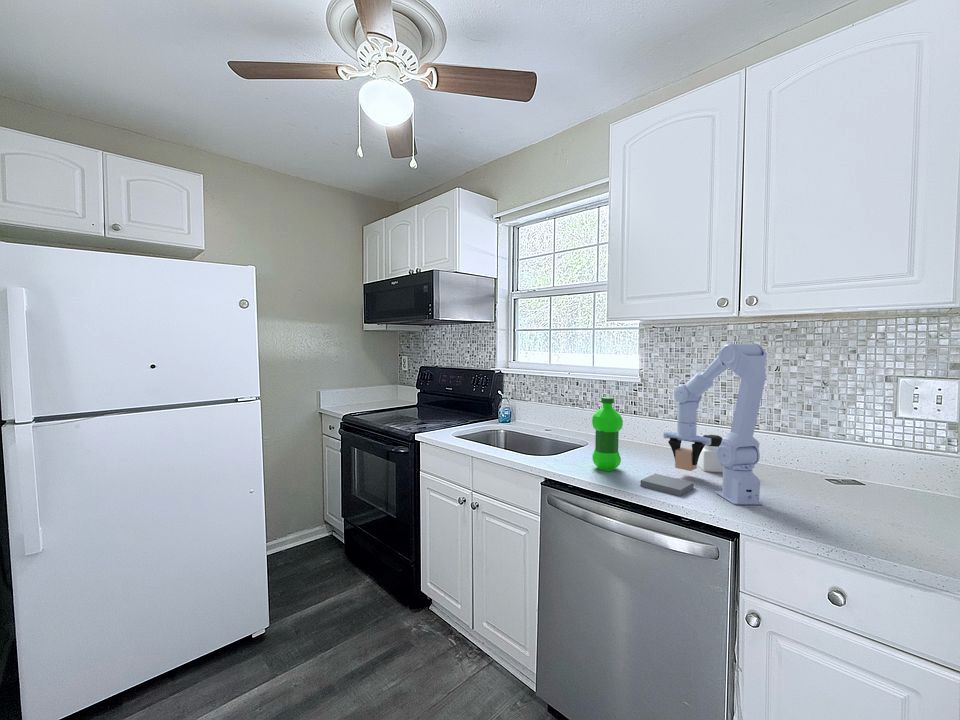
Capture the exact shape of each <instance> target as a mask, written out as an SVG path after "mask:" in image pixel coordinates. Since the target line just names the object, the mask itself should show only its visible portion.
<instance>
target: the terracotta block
mask: <svg viewBox="0 0 960 720" xmlns="http://www.w3.org/2000/svg"><path fill="white" fill-rule="evenodd" d="M692 460H693V451H692V448H687V447H680V448H679V449H677V450H676V452H675V458H674V462H675V463H674V467H675V469H679V470H685V471H688V472H689V471H690V472H693V470H696V469H697V467H698V464H697V465H693V463H692Z"/></svg>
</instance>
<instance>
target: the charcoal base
mask: <svg viewBox="0 0 960 720" xmlns="http://www.w3.org/2000/svg"><path fill="white" fill-rule="evenodd" d="M694 486H695V482H693V481H689V480H685V479H680V478H677V477H671V476H667V475H664V474H658V473H653V474H651V475H649V476H647V477H644V478H642V479H641V480H640V487H643V488H647V489H650V490H651V489H652V490H655V491H659V492H662V493H667V494H670V495H674V496H678V497H681V496H683V495H685V494H687V493H688V492H690V491H691V490H694Z"/></svg>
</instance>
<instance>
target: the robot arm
mask: <svg viewBox="0 0 960 720" xmlns="http://www.w3.org/2000/svg"><path fill="white" fill-rule="evenodd" d="M717 354H718V355H717V357H716V358H715V359H714V360H713V361H712V362H711V363H710V364H709V365H708V366H707V368H706V369H705V370H704V371H696V372H695V373H694V374H693V376H692V377H691V378H690V379H689V380H688V381H686V382H685V384H683V385H677V386H676V387H675V388H674V392H673V396H674V397H673V398H674V400H675V401H676V403H677V422H676V423H677V427H676V429H677V431H676V432H672V431H665V432H663V439H669V440H668V442H667V443H668V445H669V446H670V449H671V450H672V453H673V457H674V459H675V452H676V450H677V449H679V448H681V446H682V441H684V442H689V443H692V444H691V449H692V451H693V460H692V463H693V465H697V466H698V459H699V456H700V453H701V451H702V450H703V448H704V446H705V444H706V445H711V438H705V437H703V436H700V435H697V427H698V425H697V423H698V422H697V421H698V420H697V419H698V418H697V417H698V409H699V407H700V405H699V404H700V402H701V401H702V398H703V394H704V393H706V392H707V391H708V390H709V389H710V388H711V387H712V386H713V385H714V379H717V377H719V376H720V375H721V374H722V373H724V372H725V371H726V370H727V369H730V371H731V372H733V373H734V374H735V375H737V376H738V378H739V379H740V384H739V389H738V393H737V399H736V403H735V406H734V412H733V416H732V417H733V418H732V424H731V427H730V431H729V433H727V434H726V435H725V436H724V437H722V442H721V444H720V446H719V447H718V449H717V458H718V461H719V462H720V463H721V466H723V472H722V484H721V485H722V489H721V490H715V494H717V495H719V496H720V497H722V498H724V500H726V501H727V502H729V503H731V504H733V505H763V502H762V501H760V492H761V491H760V488H761V487H760V486H761V482H760V481H761V480H760V478H759V477H758V476H757V475H755V473H754V470H753V469H755V465H756V464H758V463H759V461H760V460H761V459H760V457H761V456H760V455H761V454H760V442H759V441H758V440H757V439H756V437H754V434H755V429H756V424H757V419H758V415H759V411H760V405H761V400H762V397H763V394H764V393H763V392H764V389H765V382H766V378H767V373H766V367H765V366H766V362H767V358H768V357H767V356H768V353H767V352H766V351H765V349H764V348H763V346H761V345H760V344H759V343H754V342H753V343H726V344H723V346H722V348H721V349H719V350H718V351H717Z"/></svg>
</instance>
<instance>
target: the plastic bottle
mask: <svg viewBox="0 0 960 720" xmlns="http://www.w3.org/2000/svg"><path fill="white" fill-rule="evenodd" d="M600 400H601V402H600V403H601V404H602V407H601V408H599V409H598V410H597V411H596V412H595V413H593V415H592V419H591V420H592V421H591V423H592V427H593V429H594V430H595V436H594V437H595V438H594V439H595V448H594V450H593V452H592V462H593V464H594V465H595V466H596V467H597V468H598V470H600V471H605V472H612V471H614V470H615V469H617V468H618V467H619V466H620V464H621V462H622V458H621V455H620V452H619V432H620V431H621V429H623V424H624V423H623V421H624V420H623V418H622V415H620V413H619V412H618V411H617V410H615V408H613V404H614V403H615V397H612V396H601V399H600Z"/></svg>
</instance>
